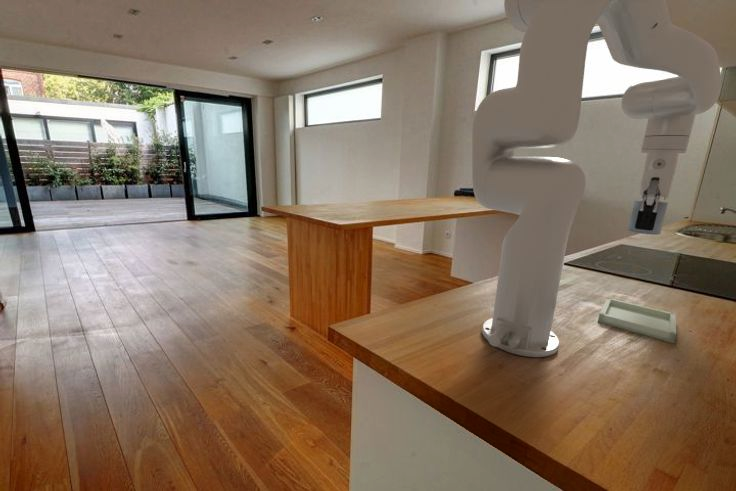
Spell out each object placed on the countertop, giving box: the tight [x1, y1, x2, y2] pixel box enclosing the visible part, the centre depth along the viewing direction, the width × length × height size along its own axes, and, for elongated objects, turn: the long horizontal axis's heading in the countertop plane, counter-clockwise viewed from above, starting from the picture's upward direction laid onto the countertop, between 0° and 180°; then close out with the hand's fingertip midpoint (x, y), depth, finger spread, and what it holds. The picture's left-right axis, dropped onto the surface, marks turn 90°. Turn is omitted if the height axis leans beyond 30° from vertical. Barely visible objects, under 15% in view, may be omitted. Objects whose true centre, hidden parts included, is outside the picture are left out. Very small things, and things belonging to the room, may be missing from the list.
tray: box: [597, 297, 677, 344], centre depth 68 cm, size 12×12×2 cm
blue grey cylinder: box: [627, 199, 669, 236], centre depth 77 cm, size 6×6×7 cm
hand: (644, 226), depth 77 cm, fingers closed on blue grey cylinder, 6 cm apart
